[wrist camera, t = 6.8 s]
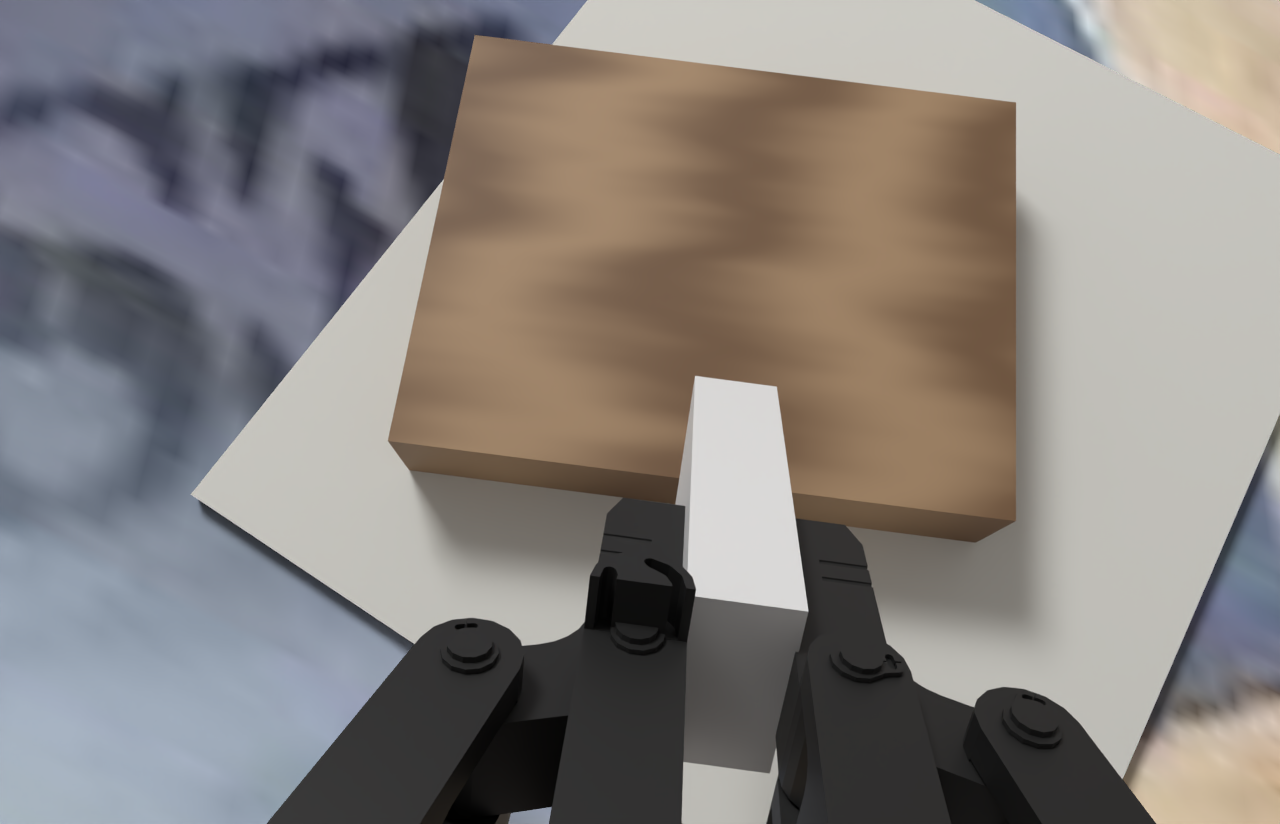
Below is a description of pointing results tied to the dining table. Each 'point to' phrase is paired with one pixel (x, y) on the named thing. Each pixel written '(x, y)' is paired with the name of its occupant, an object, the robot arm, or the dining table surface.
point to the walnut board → (720, 284)
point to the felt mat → (1045, 390)
